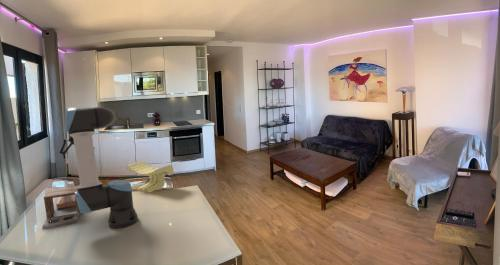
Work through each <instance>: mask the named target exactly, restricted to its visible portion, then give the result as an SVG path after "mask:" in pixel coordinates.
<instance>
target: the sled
mask: <svg viewBox="0 0 500 265" xmlns="http://www.w3.org/2000/svg"><path fill="white" fill-rule="evenodd" d="M72 186H75V182H74V181H69V182H67V187H72ZM58 198H59V199H58V200H57V202H56V205H55V206H56V209H62V208H69V207H76V200H75V201H69V202H63V203H62V199H61V197H58Z"/></svg>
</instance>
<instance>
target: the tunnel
mask: <svg viewBox="0 0 500 265" xmlns="http://www.w3.org/2000/svg"><path fill="white" fill-rule="evenodd" d="M78 186H79V185H74V186H72V187H68V186H67V187H59V188H53V189H48V191H47V192H46V193H45V195H44V196H43V201H44V202H43V203H44V208H45V209H44V210H45V213H46V214H45V215H46V218H45V220H44V222H43V224H42V225H41V226H42V227H41V228H42V229H43V228H44V229H48V228H47V227H50V228H53V227H52V226H55V227H60V226H59V225H61V226H65V224H66V225H70V223H71V224H77V223H78V220H79V217H80V214H81V212H80V210H79V207H78V204H77V201H76V197H75V201H76V206H75V207H76V212H74V213H68V214H62V215H58V216H56V215H55V216H53V214H54V212H55V204H54V198H55V199H56V198H61V197H62V196H69V195H75V192H76V191H77V192H78V190H77V188H78ZM50 221H51V222H50ZM76 222H77V223H76Z"/></svg>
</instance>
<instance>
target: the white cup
mask: <svg viewBox="0 0 500 265" xmlns="http://www.w3.org/2000/svg"><path fill="white" fill-rule="evenodd" d="M60 198H61V199H62V203H63V202H69V201H76V200H75V195H69V196H62V197H60Z"/></svg>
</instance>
